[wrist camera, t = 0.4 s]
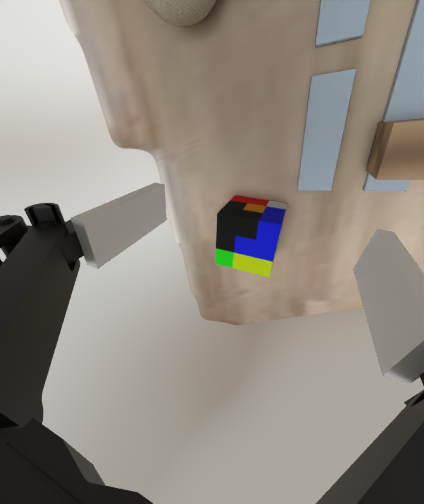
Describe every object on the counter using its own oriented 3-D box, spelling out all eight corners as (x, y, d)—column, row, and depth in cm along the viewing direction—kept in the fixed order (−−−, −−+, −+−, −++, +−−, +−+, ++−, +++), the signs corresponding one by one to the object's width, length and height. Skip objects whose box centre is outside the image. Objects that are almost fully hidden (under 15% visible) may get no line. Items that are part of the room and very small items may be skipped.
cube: (379, 122, 27) (394, 122, 22) (440, 116, 25) (470, 116, 20) (366, 170, 30) (376, 179, 25) (419, 169, 28) (440, 179, 23)
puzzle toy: (287, 203, 38) (281, 224, 30) (276, 248, 43) (269, 277, 35) (235, 195, 41) (217, 213, 33) (231, 239, 46) (215, 263, 38)
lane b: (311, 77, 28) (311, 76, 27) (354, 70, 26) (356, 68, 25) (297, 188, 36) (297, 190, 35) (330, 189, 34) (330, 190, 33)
